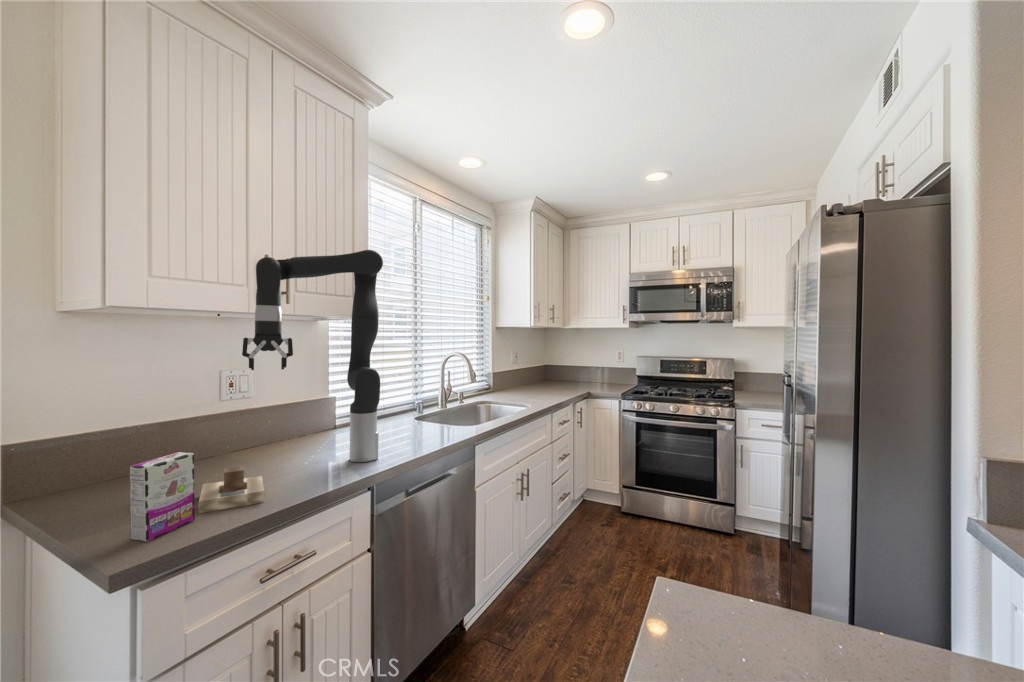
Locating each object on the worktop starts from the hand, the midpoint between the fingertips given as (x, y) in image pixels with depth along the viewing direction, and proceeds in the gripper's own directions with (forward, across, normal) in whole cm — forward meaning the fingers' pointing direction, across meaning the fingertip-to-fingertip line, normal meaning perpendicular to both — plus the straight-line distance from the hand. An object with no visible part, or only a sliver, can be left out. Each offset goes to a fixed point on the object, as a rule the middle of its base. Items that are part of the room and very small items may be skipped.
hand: (267, 369), depth 138 cm
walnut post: (+33, -9, -22) cm, 41 cm away
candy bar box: (+33, -22, -36) cm, 54 cm away
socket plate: (+33, -9, -22) cm, 41 cm away
